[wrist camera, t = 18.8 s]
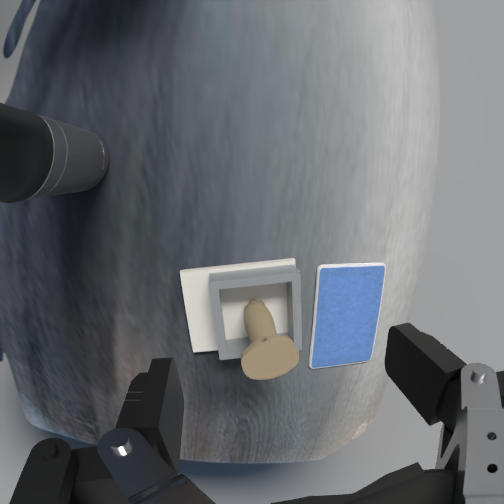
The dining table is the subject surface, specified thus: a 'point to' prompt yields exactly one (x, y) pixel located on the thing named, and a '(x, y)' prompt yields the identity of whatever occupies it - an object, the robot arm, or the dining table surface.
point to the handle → (265, 345)
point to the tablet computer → (346, 313)
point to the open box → (240, 303)
